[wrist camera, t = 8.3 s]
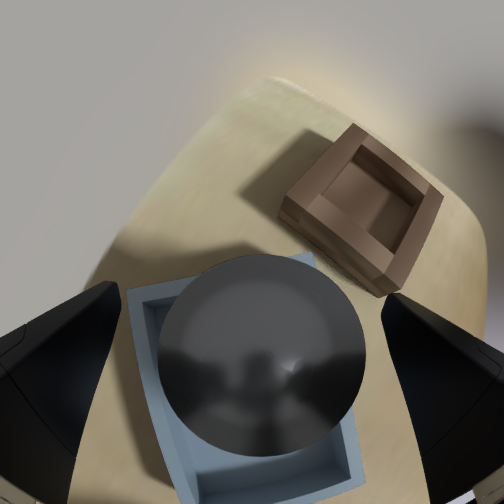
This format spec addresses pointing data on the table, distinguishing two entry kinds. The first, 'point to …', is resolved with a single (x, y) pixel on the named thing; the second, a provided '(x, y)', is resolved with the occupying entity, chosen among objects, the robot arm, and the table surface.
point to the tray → (225, 463)
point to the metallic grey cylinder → (261, 355)
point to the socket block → (364, 210)
